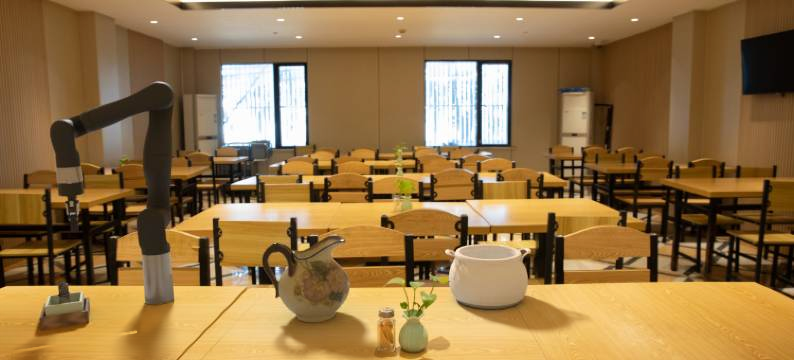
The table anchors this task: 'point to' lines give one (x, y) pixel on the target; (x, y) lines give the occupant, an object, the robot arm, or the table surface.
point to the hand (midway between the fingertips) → (74, 229)
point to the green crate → (65, 304)
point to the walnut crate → (65, 318)
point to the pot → (488, 276)
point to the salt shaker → (63, 293)
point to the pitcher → (310, 280)
